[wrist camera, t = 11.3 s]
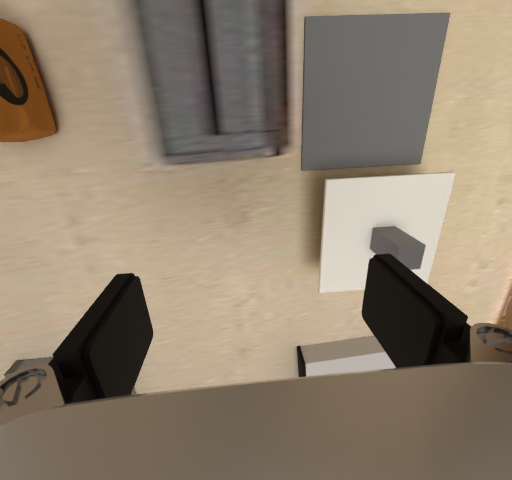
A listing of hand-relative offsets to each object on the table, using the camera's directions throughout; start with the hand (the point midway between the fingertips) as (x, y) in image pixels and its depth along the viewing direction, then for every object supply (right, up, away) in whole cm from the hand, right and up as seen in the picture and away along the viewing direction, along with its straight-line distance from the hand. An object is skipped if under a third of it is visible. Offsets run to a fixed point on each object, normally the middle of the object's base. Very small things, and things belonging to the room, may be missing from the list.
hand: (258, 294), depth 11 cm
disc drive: (+20, -25, +46) cm, 57 cm away
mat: (+15, +21, +25) cm, 36 cm away
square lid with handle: (+17, +3, +25) cm, 30 cm away
